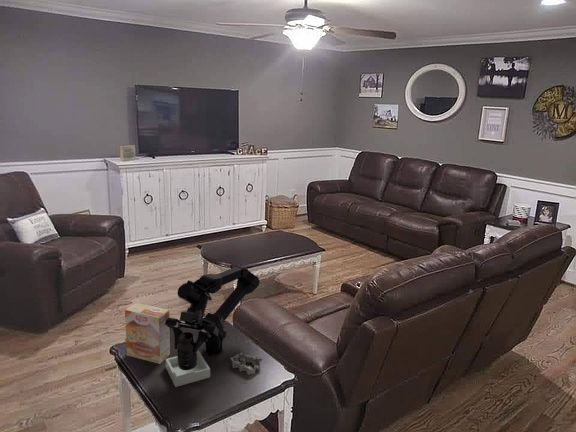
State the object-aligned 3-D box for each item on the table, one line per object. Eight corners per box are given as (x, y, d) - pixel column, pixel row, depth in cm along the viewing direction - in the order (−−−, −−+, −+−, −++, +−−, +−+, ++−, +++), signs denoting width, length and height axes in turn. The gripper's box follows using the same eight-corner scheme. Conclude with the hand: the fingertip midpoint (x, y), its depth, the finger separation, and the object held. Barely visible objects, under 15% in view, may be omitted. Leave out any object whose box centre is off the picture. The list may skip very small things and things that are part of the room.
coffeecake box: (126, 355, 166) (124, 309, 161) (137, 346, 173) (136, 301, 168) (160, 364, 162) (158, 317, 157) (170, 354, 169) (169, 309, 164)
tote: (198, 358, 167) (198, 350, 166) (210, 377, 156) (210, 368, 156) (165, 367, 161) (165, 359, 160) (175, 387, 150) (175, 378, 149)
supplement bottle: (178, 359, 158) (177, 330, 155) (198, 359, 159) (197, 330, 156) (176, 371, 152) (174, 341, 148) (196, 370, 152) (195, 340, 149)
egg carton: (263, 368, 164) (263, 358, 163) (250, 377, 158) (250, 367, 157) (242, 357, 170) (242, 348, 169) (228, 366, 164) (229, 356, 163)
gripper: (166, 297, 154) (151, 341, 147) (215, 304, 151) (203, 350, 143) (177, 307, 164) (163, 348, 157) (223, 314, 160) (212, 357, 153)
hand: (184, 351), depth 152 cm, fingers closed on supplement bottle, 7 cm apart
